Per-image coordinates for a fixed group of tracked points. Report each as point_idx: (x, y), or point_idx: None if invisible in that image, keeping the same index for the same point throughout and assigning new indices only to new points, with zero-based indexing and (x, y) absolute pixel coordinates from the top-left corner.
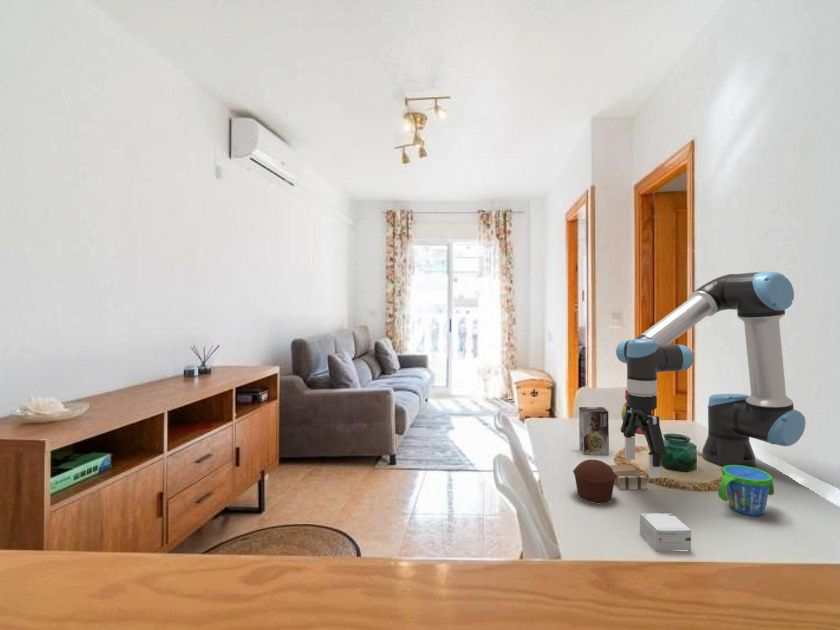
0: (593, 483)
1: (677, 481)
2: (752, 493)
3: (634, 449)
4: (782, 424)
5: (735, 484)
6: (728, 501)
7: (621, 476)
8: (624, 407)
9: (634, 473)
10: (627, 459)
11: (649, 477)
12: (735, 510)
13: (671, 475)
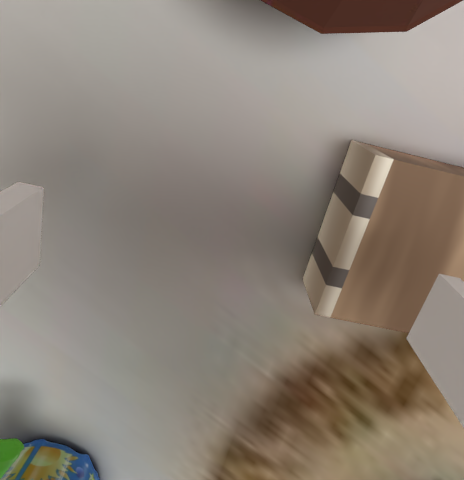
0: None
1: (322, 442)
2: None
3: (452, 401)
4: None
5: None
6: (70, 461)
7: (385, 180)
8: None
9: (389, 289)
10: (434, 285)
11: (28, 184)
12: (39, 439)
13: (379, 460)
